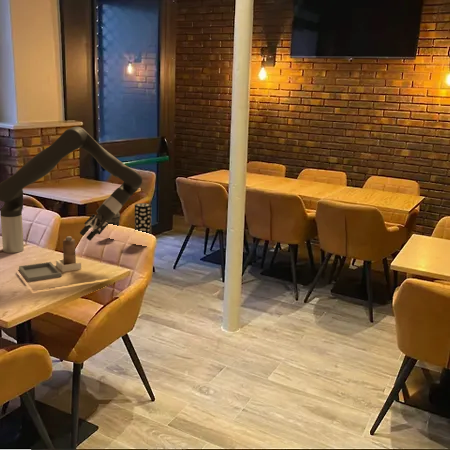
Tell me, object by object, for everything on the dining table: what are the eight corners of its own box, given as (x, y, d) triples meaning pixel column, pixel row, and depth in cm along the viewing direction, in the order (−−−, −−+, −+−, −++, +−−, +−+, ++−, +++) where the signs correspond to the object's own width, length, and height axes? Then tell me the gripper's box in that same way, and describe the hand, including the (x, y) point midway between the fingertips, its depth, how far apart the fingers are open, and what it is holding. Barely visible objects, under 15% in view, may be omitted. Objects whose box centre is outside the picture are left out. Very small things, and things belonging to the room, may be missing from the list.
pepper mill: (62, 266, 222) (61, 236, 219) (73, 264, 225) (72, 234, 222) (65, 269, 218) (64, 239, 215) (77, 267, 221) (76, 237, 217)
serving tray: (19, 271, 216) (18, 266, 215) (50, 267, 223) (50, 261, 222) (28, 284, 203) (28, 278, 202) (61, 278, 210) (61, 272, 210)
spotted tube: (142, 246, 259) (142, 207, 254) (131, 242, 264) (131, 204, 259) (154, 242, 266) (154, 205, 261) (143, 239, 270) (143, 202, 265)
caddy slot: (56, 267, 223) (56, 259, 222) (74, 264, 227) (74, 257, 226) (62, 273, 216) (62, 266, 215) (81, 271, 220) (81, 263, 219)
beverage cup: (121, 236, 275) (121, 199, 270) (119, 240, 268) (118, 202, 263) (107, 235, 275) (107, 199, 270) (105, 239, 268) (104, 202, 263)
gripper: (97, 200, 229) (72, 227, 226) (109, 206, 218) (83, 235, 214) (109, 210, 233) (85, 238, 230) (121, 217, 222) (96, 246, 219)
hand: (84, 236), depth 222 cm, fingers open, 8 cm apart
